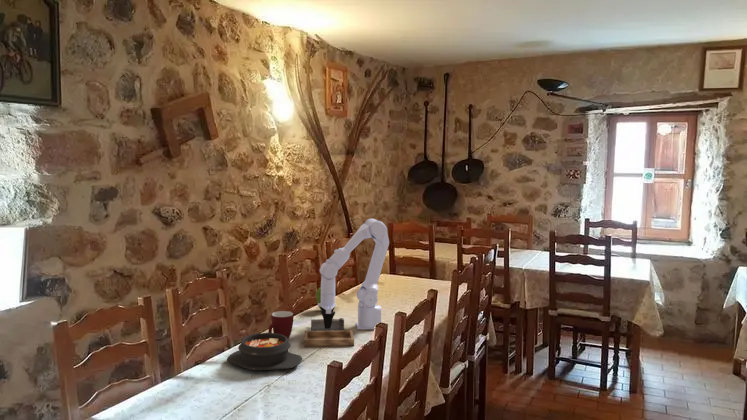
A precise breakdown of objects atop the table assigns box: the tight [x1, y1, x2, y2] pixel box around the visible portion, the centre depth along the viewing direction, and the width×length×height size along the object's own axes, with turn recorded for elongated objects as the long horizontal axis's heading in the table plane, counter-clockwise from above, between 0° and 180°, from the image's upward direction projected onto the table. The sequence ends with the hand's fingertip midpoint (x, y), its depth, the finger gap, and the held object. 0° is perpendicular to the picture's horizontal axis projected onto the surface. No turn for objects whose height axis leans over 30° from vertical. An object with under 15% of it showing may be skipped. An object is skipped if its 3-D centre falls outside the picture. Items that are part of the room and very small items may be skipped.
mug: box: [267, 310, 294, 340], centre depth 199 cm, size 11×8×10 cm
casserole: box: [226, 332, 303, 371], centre depth 177 cm, size 25×19×8 cm
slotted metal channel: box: [310, 317, 345, 331], centre depth 213 cm, size 13×2×4 cm, turn 97°
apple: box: [315, 286, 322, 312], centre depth 239 cm, size 9×8×12 cm
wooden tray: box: [304, 329, 355, 348], centre depth 199 cm, size 18×10×3 cm, turn 97°
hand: (327, 326), depth 213 cm, fingers open, 4 cm apart
